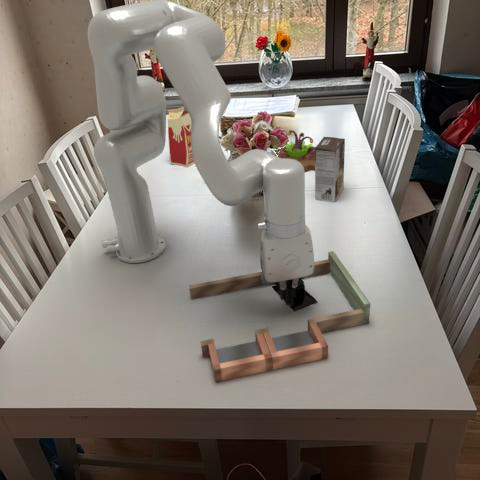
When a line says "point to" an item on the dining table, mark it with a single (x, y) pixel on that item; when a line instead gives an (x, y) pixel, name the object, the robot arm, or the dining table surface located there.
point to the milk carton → (180, 137)
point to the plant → (299, 152)
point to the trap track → (288, 346)
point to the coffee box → (329, 168)
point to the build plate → (299, 297)
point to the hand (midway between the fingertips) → (287, 300)
